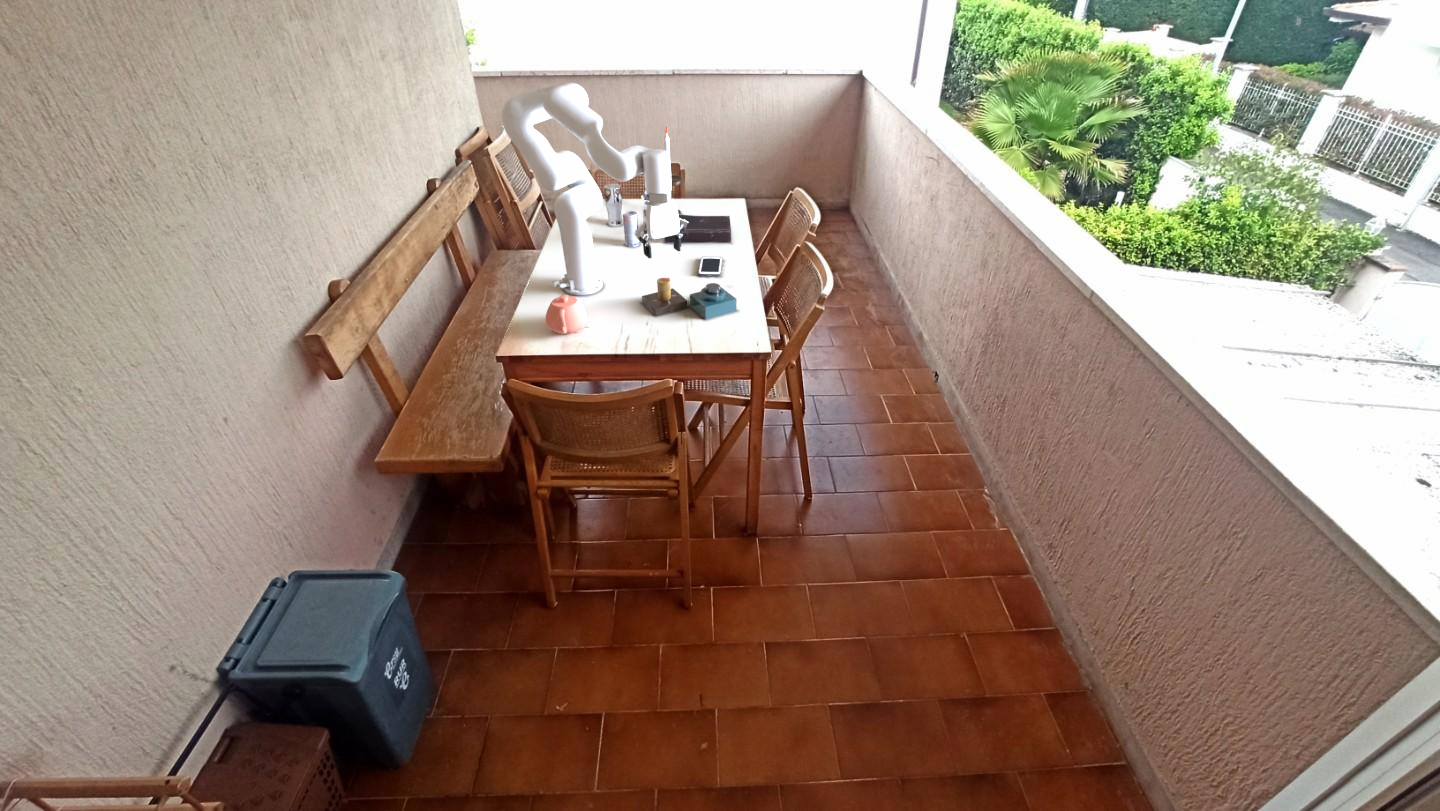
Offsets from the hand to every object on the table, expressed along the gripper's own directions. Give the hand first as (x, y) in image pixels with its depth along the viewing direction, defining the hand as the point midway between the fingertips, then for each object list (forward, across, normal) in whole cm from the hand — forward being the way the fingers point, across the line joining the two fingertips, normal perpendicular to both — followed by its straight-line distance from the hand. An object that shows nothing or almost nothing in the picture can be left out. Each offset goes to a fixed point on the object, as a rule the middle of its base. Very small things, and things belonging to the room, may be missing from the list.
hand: (662, 253), depth 193 cm
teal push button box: (+17, +11, -10) cm, 23 cm away
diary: (+17, +37, +45) cm, 61 cm away
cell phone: (+17, +26, +16) cm, 35 cm away
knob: (+14, -1, -1) cm, 14 cm away
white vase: (+16, +14, +72) cm, 76 cm away
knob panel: (+17, -1, 0) cm, 17 cm away
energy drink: (+16, +11, +49) cm, 53 cm away
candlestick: (+16, +38, +71) cm, 83 cm away
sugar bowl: (+17, -32, +1) cm, 36 cm away
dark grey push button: (+12, +11, -10) cm, 19 cm away
